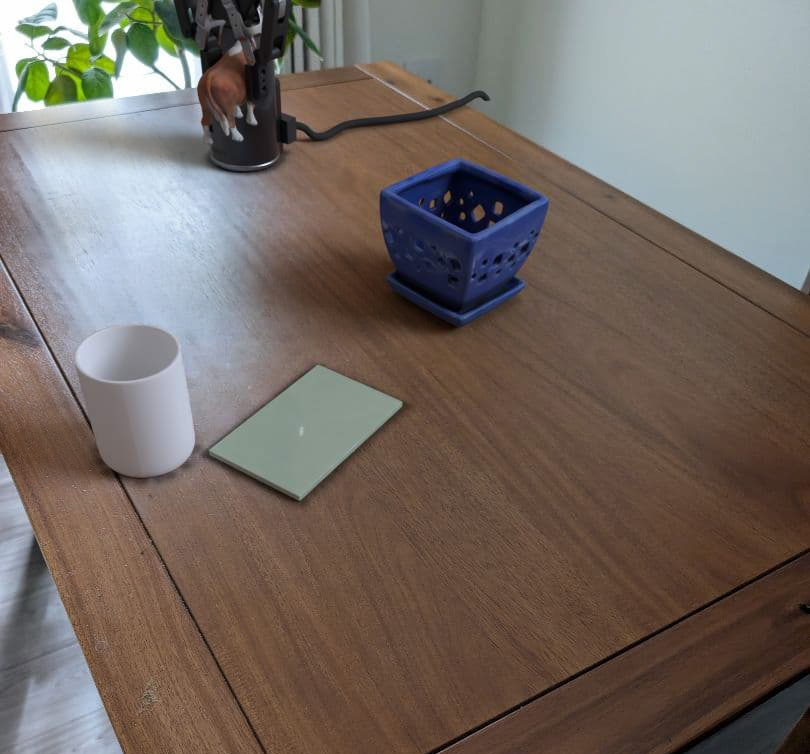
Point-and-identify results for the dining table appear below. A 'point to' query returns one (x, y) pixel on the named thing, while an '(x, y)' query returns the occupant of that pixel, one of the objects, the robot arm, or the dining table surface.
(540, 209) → the flower pot
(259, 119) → the robot arm
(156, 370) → the cup
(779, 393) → the dining table surface
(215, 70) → the bull figurine
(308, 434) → the tile
